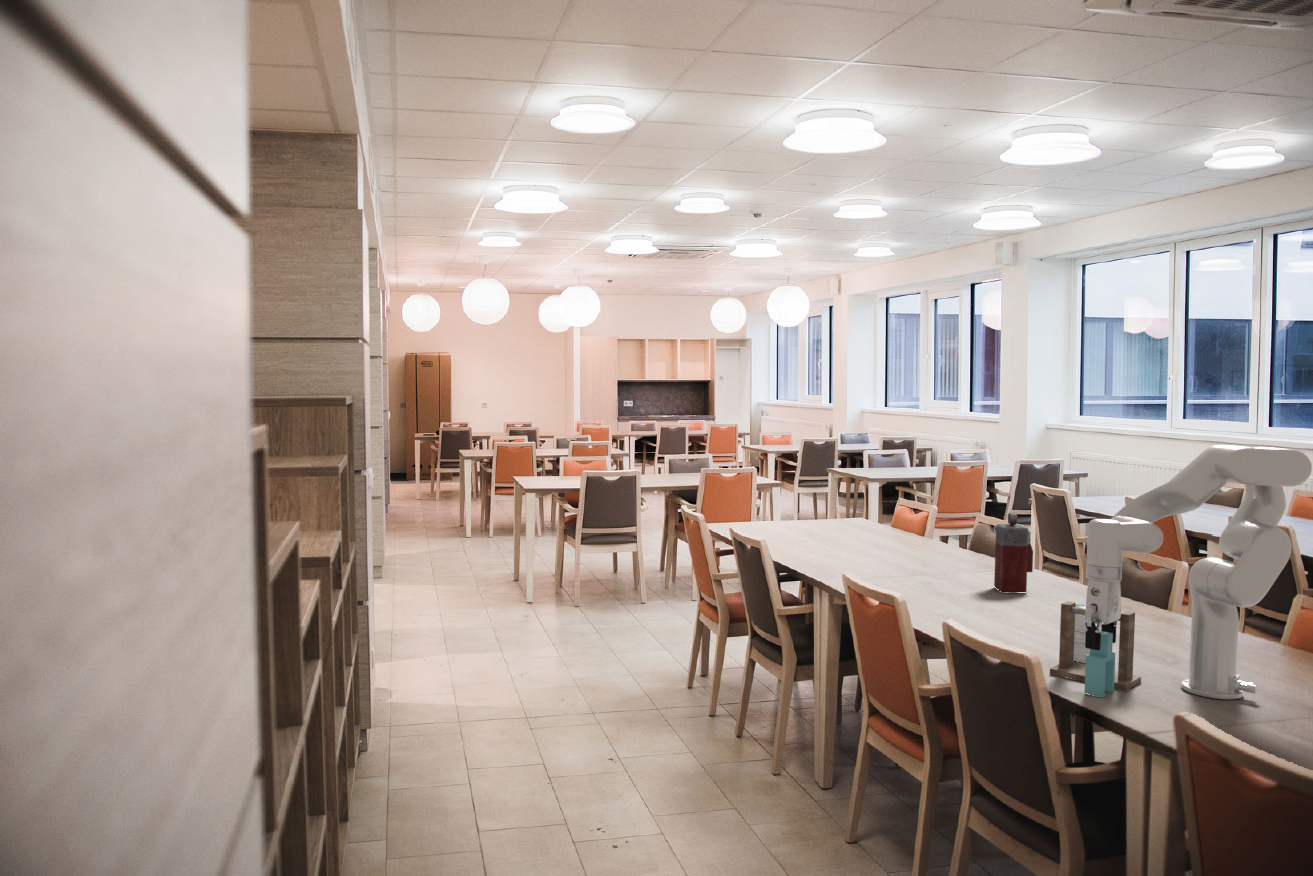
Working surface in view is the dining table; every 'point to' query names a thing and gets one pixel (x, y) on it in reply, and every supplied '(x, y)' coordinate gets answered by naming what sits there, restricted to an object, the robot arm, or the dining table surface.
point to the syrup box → (1080, 636)
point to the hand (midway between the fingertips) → (1100, 645)
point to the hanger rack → (1077, 671)
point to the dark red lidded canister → (1012, 556)
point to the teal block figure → (1100, 667)
